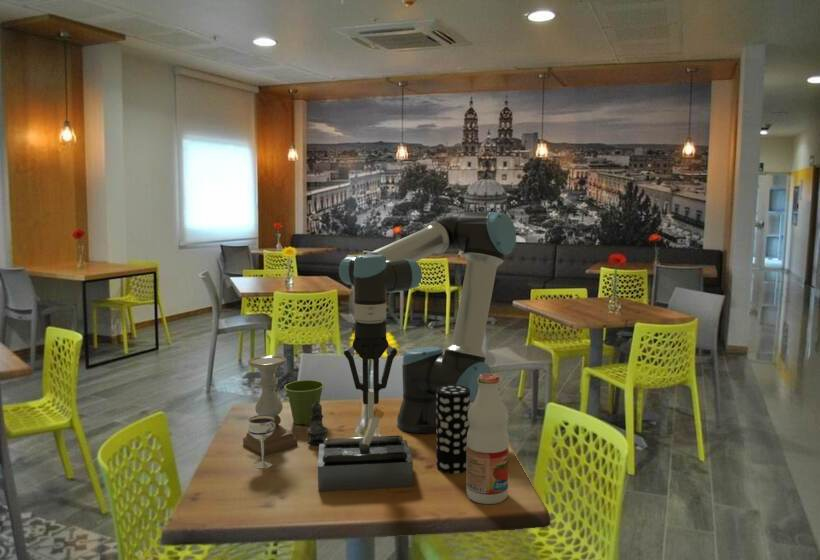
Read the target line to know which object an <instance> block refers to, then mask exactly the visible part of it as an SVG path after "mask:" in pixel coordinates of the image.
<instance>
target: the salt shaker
mask: <svg viewBox="0 0 820 560" xmlns="http://www.w3.org/2000/svg"><path fill="white" fill-rule="evenodd" d="M322 409H323V408H322V404H321V403H320V404H319V403H317V400H316V403H315V404H313V405H312V406H311V412H312V415H311V416H310V418H311V423H312V424H310V426H309V427H308V428H307V429H306V433H307V436H308V438H309V440H308V441H307V445H309V444H310V445H309V446H312V445H314V447H319V444H324V440H325V439H326V438H325V437H326V436H327V433H328V430H329V429H328V427H326V426H324V424H323V418H324V415H323V411H322ZM315 445H316V446H315Z"/></svg>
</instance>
